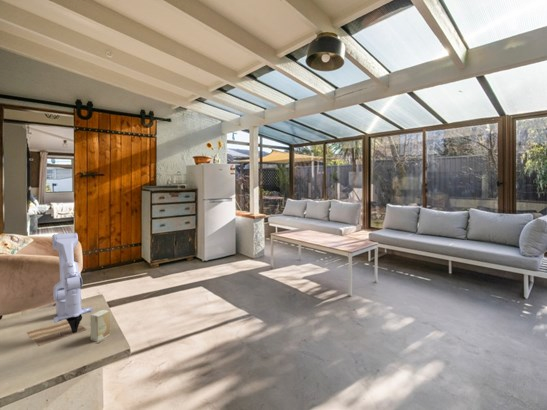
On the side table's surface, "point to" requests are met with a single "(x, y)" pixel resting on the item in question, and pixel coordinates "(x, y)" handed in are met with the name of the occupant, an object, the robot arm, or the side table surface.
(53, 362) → the side table surface
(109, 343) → the side table surface
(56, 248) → the robot arm
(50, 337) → the plank
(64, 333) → the plank
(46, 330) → the laid oak row
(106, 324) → the skincare box
